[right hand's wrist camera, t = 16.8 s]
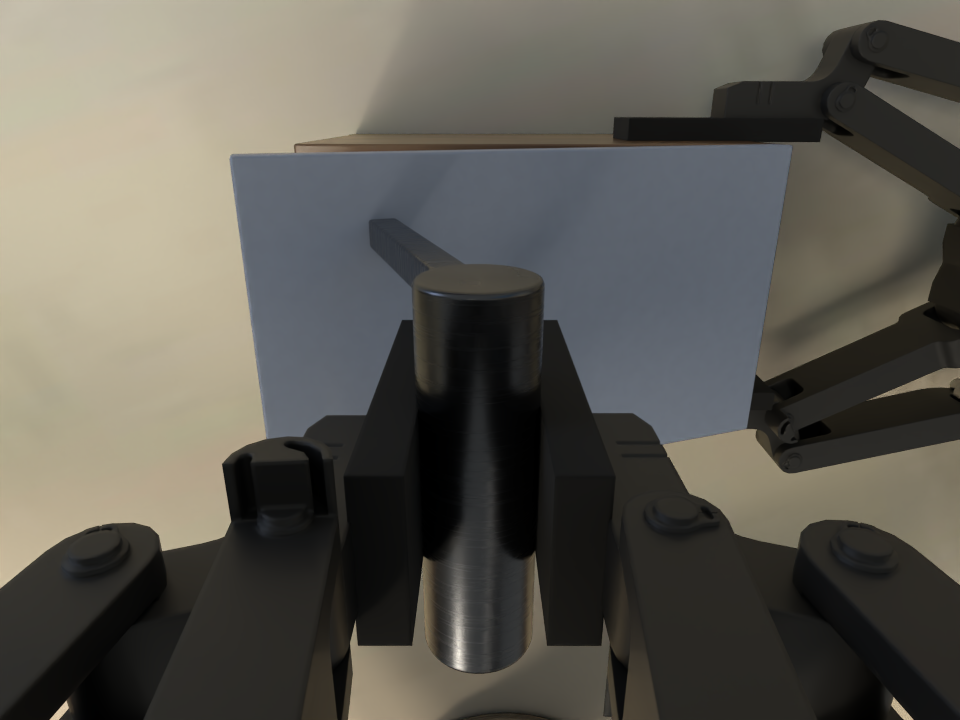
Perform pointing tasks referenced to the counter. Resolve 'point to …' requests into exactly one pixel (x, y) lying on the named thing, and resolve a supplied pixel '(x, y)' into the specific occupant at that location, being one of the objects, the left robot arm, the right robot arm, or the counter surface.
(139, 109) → the counter surface
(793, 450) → the left robot arm
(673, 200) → the lid
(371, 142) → the chest
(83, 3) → the counter surface
